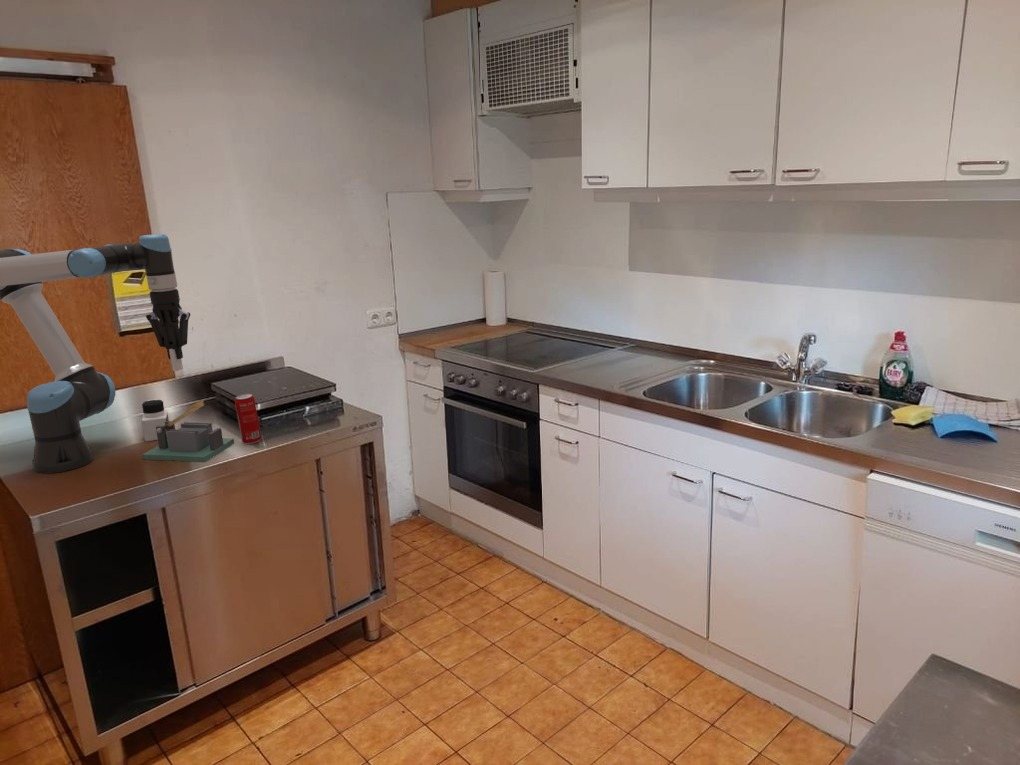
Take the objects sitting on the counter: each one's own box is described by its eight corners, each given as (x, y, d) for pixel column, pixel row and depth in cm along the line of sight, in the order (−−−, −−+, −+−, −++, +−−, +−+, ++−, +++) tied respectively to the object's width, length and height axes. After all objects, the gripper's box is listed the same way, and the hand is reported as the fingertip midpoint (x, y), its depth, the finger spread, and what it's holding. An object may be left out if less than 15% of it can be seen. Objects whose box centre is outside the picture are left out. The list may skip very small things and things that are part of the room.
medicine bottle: (169, 438, 236) (163, 402, 233) (144, 441, 234) (138, 405, 230) (170, 431, 243) (164, 396, 239) (146, 435, 240) (140, 399, 237)
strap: (161, 431, 222) (158, 427, 222) (168, 427, 226) (165, 423, 225) (198, 407, 218) (195, 403, 217) (205, 404, 221) (202, 399, 221)
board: (143, 459, 219) (138, 432, 216) (176, 440, 234) (172, 415, 232) (204, 462, 215) (200, 434, 213) (234, 443, 230) (230, 417, 228)
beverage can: (265, 438, 233) (259, 392, 229) (253, 445, 227) (247, 398, 223) (248, 437, 235) (243, 391, 231) (236, 444, 229) (230, 397, 225)
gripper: (134, 292, 209) (149, 373, 215) (176, 290, 207) (190, 372, 213) (151, 288, 216) (166, 367, 222) (191, 286, 214) (205, 366, 220)
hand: (177, 369), depth 218 cm, fingers closed
